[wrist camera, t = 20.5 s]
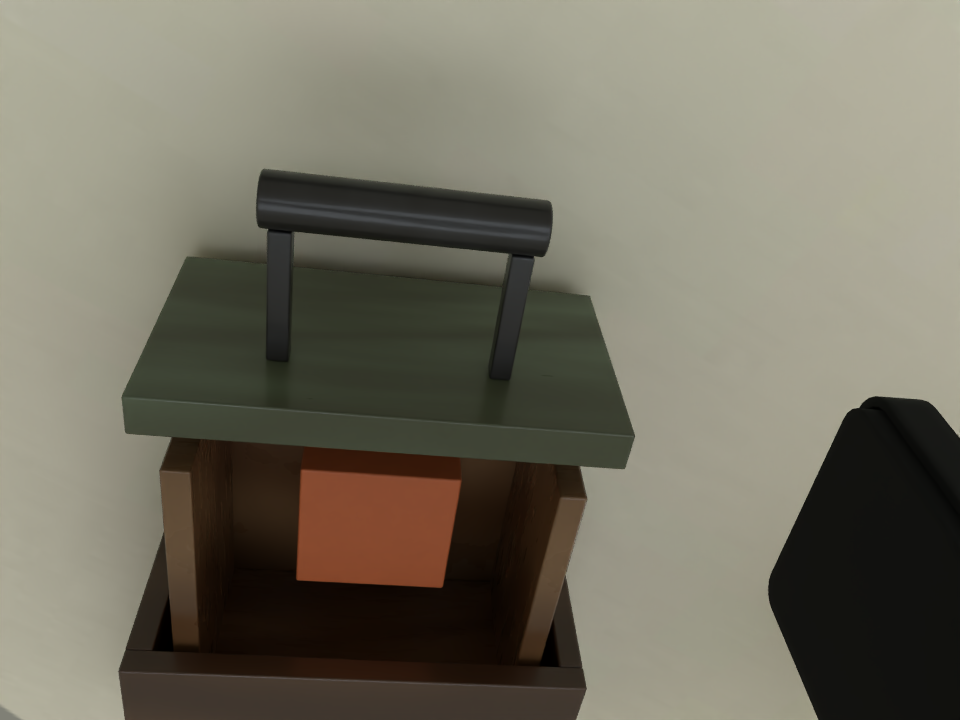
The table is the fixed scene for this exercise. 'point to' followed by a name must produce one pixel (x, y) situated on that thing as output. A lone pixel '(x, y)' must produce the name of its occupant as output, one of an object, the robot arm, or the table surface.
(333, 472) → the block
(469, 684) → the cabinet
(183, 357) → the drawer
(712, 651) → the table surface
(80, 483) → the table surface
